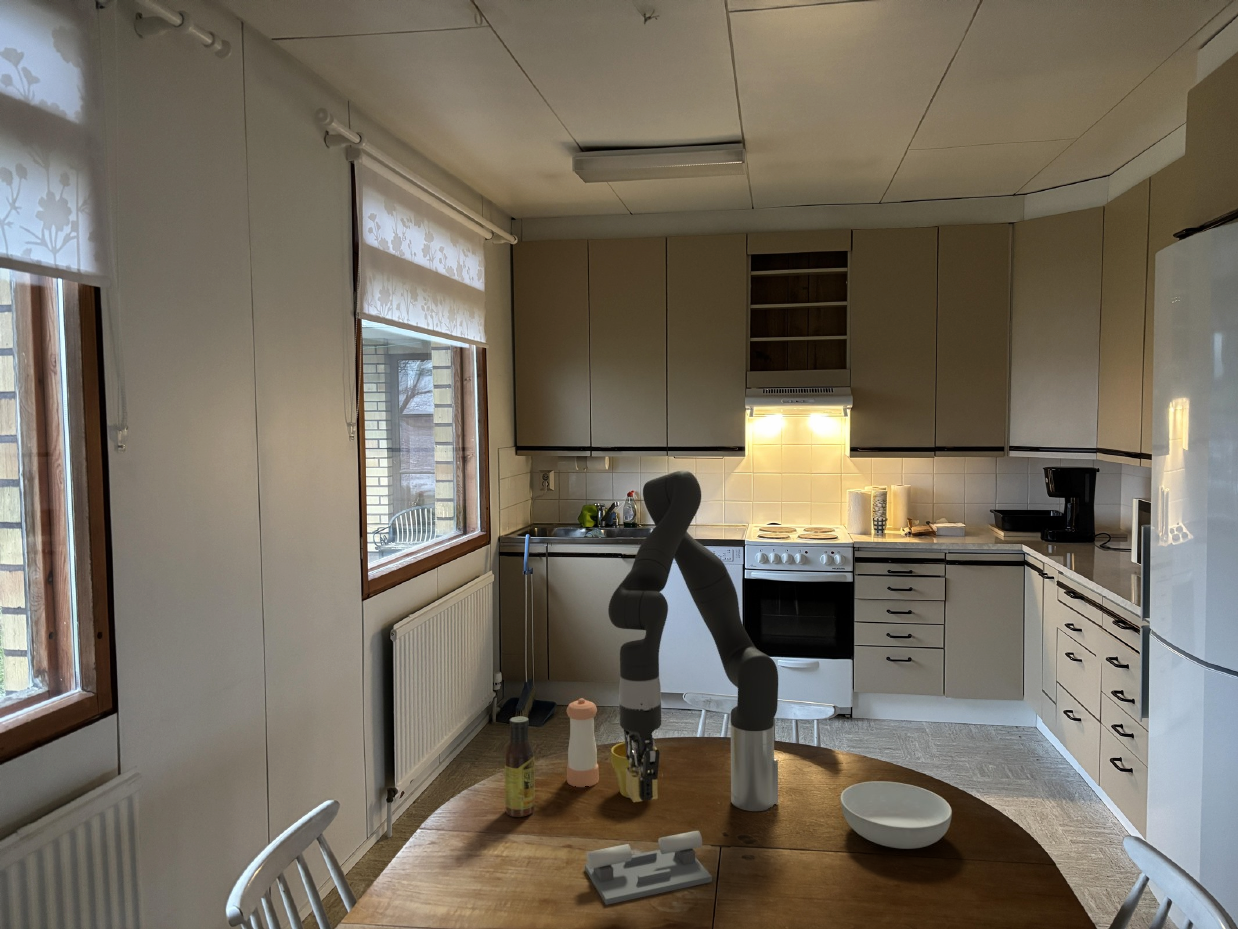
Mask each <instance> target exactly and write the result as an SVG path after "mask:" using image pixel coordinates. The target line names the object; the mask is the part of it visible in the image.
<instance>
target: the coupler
mask: <svg viewBox="0 0 1238 929" xmlns="http://www.w3.org/2000/svg"><path fill="white" fill-rule="evenodd" d="M648 772H649V771H648ZM652 784H653V798H652V799H651V800H657V799H658V797H659V796H658V778H657V779H656V780H652ZM626 792H627V793H628V795H629V796H630V798H629V799H630V800H631V801H632V802H633V803H638V802H643V801H642V800H641V798H640V779H639V769H638V767H637V766H633V767H626Z"/></svg>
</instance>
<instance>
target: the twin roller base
mask: <svg viewBox="0 0 1238 929" xmlns="http://www.w3.org/2000/svg"><path fill="white" fill-rule="evenodd" d="M657 844H658V848H659V849H655V850H651V851H645V852H641V853H636V854H632V850H631V846H630V844H629V843H628V844H627V843H626V844H622V845H615V846H609V847H606V848H602V849H596V850H595V849H594V850H591V851H586V863H585V864H584V870H585V872H586V874H587V876H589V879H590V881H591V882H592V884H593V886H594V887H595V888H596V891H597V893H598V894H599V895H600V897H601V899H602V901H603V902H604V904H605V905H606V906H608V905H611V904H616V903H621V902H625V901H630V900H634V899H640V898H643V897H649V896H653V895H658V894H662V893H667V892H670V891H671V892H672V891H675V890H676V891H677V890H680V889H684V888H690V887H694V886H699V885H703V884H707V883H712V882H713V876H712V874H711V873H710V872H709V871H708V870H707V869H706V868H705V867H704V866H703V864H702V863H701V862H700V861H699V860H698V858H697V857H696V851H695V850H694V849H697V848H701V847H702V846H703V838H702V834H701V833H700V831H699V830H693V831H687V832H683V833H677V834H673V835H667V836H662V837H659V838H658V843H657Z"/></svg>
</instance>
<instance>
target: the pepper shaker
mask: <svg viewBox="0 0 1238 929" xmlns="http://www.w3.org/2000/svg"><path fill="white" fill-rule="evenodd" d="M597 712H598V709H597V705H596V704H595V703H594V702H592V701H589V700H586V699H585V698H583V697H581V698H579V699H578V700H575V701H572V702H570V703H569V704H568V706H567V708H566V714H567V716H568V718H569V721H570V723H569V725H570V726H569V728H570V729H569V732H570V734H569V735H570V736H569V741H568V742H569V743H568V749H567V754H568V755H567V756H568V757H567V758H568V764H567V766H566V779H567V780H566V781H567V783H568V785H570V786H572V787H575V786H576V787H575V788H586V787H585V786H589V787H592V786H594V785H596V784H598V782H599V781H600V778H599V774H600V773H599V764H598V762H597V761H598V758H597V757H598V750H597V745H596V744H597V743H596V738H595V720H594V718H595V717H596V715H597Z"/></svg>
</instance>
